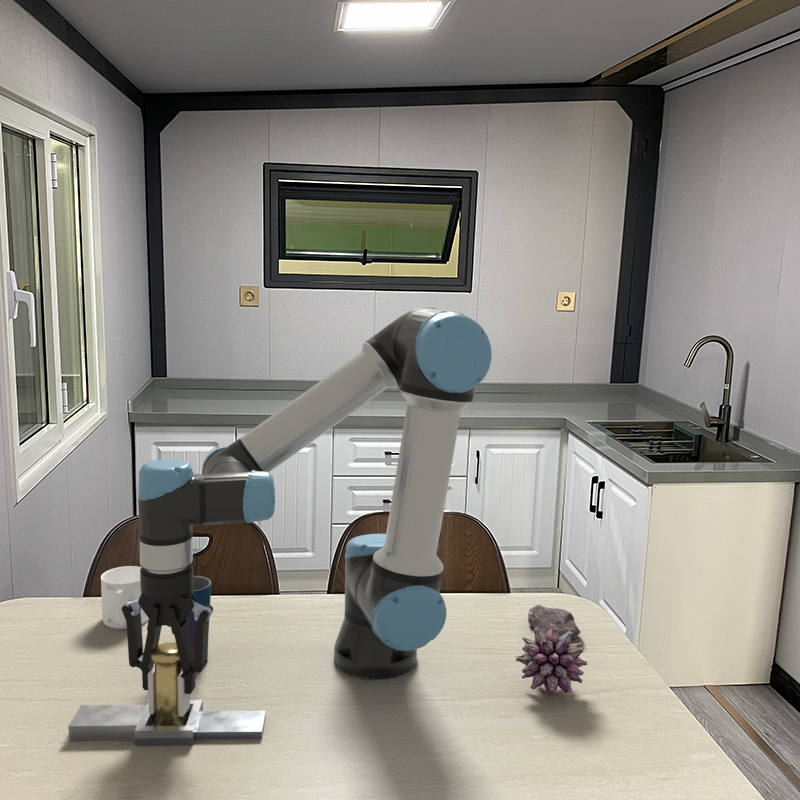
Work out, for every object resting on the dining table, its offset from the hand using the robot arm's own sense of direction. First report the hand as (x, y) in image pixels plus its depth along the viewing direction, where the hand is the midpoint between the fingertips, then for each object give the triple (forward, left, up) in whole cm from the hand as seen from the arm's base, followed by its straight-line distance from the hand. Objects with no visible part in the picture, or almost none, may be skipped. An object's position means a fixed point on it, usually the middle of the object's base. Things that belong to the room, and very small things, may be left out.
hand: (169, 709), depth 121 cm
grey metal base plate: (0, 0, -3) cm, 3 cm away
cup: (+4, -20, -3) cm, 21 cm away
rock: (-62, -43, -4) cm, 75 cm away
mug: (+23, -33, -4) cm, 40 cm away
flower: (-59, -20, -3) cm, 63 cm away
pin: (0, 0, -3) cm, 3 cm away
